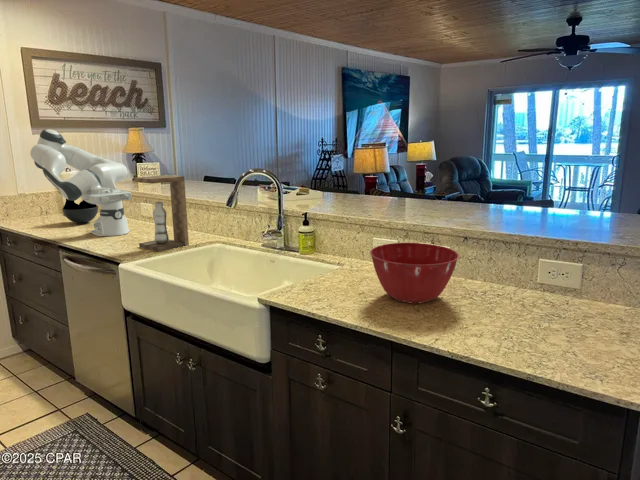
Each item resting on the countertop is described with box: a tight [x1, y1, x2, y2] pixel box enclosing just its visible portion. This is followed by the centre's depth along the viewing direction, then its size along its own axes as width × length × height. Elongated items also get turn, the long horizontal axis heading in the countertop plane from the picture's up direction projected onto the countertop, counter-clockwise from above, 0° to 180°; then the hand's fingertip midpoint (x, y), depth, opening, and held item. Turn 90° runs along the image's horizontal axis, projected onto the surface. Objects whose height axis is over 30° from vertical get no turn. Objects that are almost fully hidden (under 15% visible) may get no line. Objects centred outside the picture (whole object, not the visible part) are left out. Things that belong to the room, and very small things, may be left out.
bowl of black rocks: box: [62, 198, 99, 224], centre depth 303 cm, size 20×20×19 cm
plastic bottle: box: [152, 201, 170, 244], centre depth 235 cm, size 6×7×20 cm
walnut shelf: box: [133, 174, 190, 253], centre depth 235 cm, size 16×18×34 cm
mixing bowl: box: [369, 242, 460, 304], centre depth 161 cm, size 28×28×16 cm
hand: (118, 198), depth 232 cm, fingers open, 8 cm apart
